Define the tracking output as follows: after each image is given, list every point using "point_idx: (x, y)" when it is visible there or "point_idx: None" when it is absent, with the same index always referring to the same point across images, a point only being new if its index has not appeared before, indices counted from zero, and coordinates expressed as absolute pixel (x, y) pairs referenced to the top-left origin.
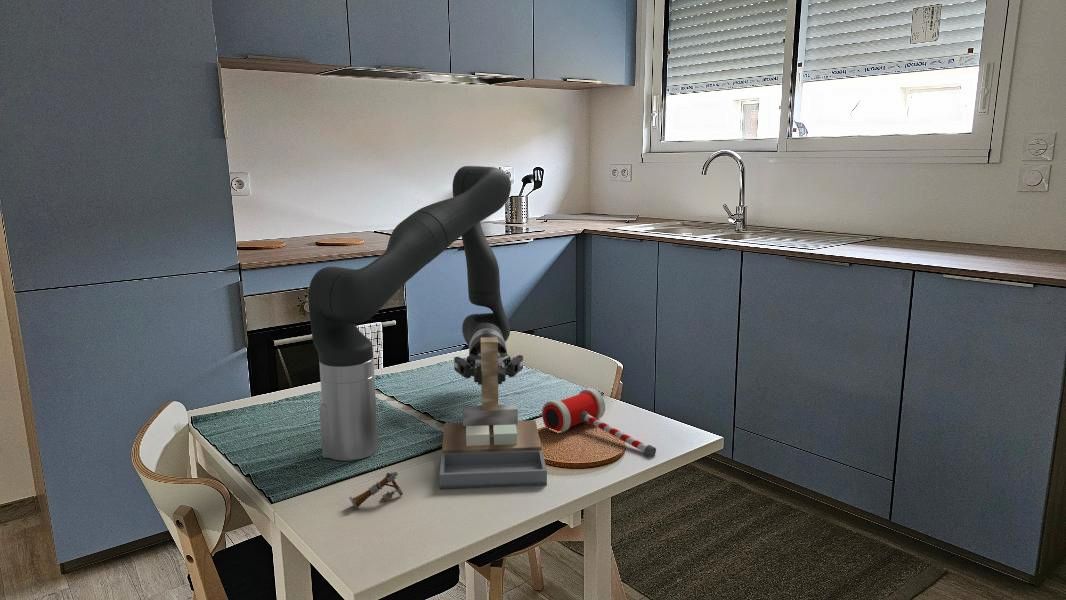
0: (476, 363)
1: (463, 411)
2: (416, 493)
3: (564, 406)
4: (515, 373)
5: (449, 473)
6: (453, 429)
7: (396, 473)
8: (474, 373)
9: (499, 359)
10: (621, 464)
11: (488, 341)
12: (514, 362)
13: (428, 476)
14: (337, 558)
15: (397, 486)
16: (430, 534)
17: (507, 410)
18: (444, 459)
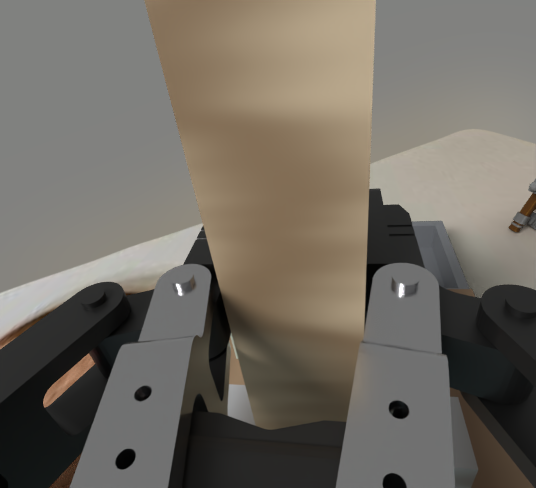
0: (421, 329)
1: (452, 397)
2: (483, 239)
3: None
4: (89, 375)
5: (420, 223)
6: (488, 441)
7: (531, 183)
8: (407, 222)
9: (158, 340)
10: (47, 300)
11: None
12: (48, 325)
13: (484, 288)
14: (526, 147)
15: (522, 208)
16: (419, 172)
17: (234, 386)
18: (451, 268)
